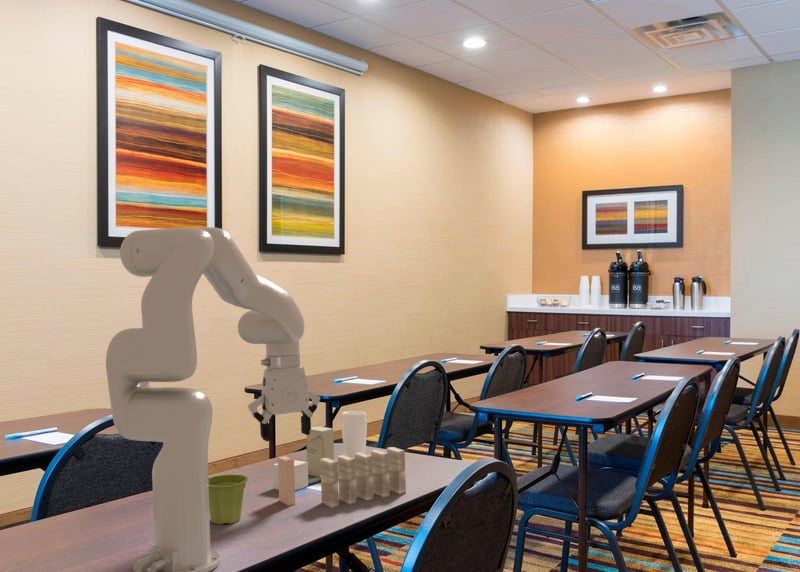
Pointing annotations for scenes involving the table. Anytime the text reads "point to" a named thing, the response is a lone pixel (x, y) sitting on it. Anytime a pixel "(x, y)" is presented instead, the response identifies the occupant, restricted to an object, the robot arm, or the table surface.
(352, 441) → the drinking glass
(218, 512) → the plant pot
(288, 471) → the domino
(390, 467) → the domino
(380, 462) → the domino
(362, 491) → the domino
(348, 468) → the domino
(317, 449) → the skincare box
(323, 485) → the domino
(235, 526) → the table surface
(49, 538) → the table surface
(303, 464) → the white cube
